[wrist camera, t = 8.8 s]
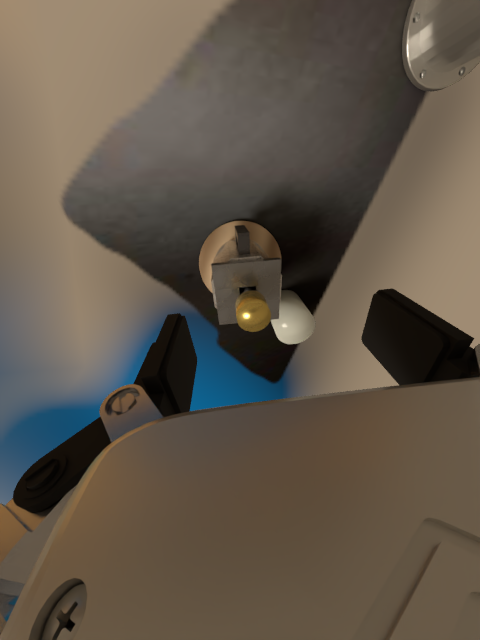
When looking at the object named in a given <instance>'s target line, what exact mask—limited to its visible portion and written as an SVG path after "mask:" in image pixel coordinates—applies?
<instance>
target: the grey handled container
mask: <svg viewBox="0 0 480 640" xmlns="http://www.w3.org/2000/svg"><path fill="white" fill-rule="evenodd" d="M234 227H235V239H232V240H230V241H228V242H226V243H225V244H224V245H222V246H221V247H220V249H219V250H218V252H217V254H216V256H215V258H214V259H213V263H211V268H212V278H211V284H212V291H213V297H214V304H215V308H217V310H218V317H219V324H220V325H222V324H232V323H238V322H237V316H236V307H235V303H236V300H237V298H238V297H239V295H241V294H242V293H244V290H243V289H239V288H240V287H250V290H251V291H257V292H260V293H261V294H262V295H263V296H264V297H265V300H266V302H267V305H268V307H269V310H270V312H271V319H270V320H273V319H279V308H280V301H281V282H282V275H281V258H280V257H278V258H269V256H268V255H267V254H266V253H265V252H264V250H263V249H262V248H261V246H260V245H259V244H257V243H256V242H254V241H252V240H251V239H250V236H249V231H248V230H247V228H246V227H245V225H237V226H234ZM251 286H252V287H251Z"/></svg>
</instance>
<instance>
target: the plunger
mask: <svg viewBox="0 0 480 640" xmlns="http://www.w3.org/2000/svg"><path fill="white" fill-rule="evenodd" d="M251 287H252V286H251ZM239 289H243V290H244V293H242V294H241V295H239V297H238V298H237V300H236V303H235V307H236V316H237V322H238V324H239V326H240V327H241V328H242V329H244V330H246V331H251V332H255V331H259V330H261V329H263V328H265V327H266V326H267V325H268V324H269V322H270V319H271V312H270V310H269V307H268V305H267V302H266V300H265V297H264V296H263V295H262V294H261V293H260V292H257V291H251V290H250V287H240V288H239Z"/></svg>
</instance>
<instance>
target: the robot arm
mask: <svg viewBox="0 0 480 640" xmlns="http://www.w3.org/2000/svg"><path fill="white" fill-rule="evenodd" d="M402 57H403V64H404V68H405V71H406V74H407V76H408V78H409V79H410V81H411V83H412V84H414V85H415V86H416V87H417V88H419V89H421V90H424V91H437V90H441V89H443V88H446V87H448V86H451V85H452V84H454V83H456V82H458V81H459V80H461V79H462V78H463V77H465V76H466V75H467V74H468V73H470V72H471V70H473V68H475V66H476V65H477V64H478V63H479V62H480V0H412V2H411V5H410V8H409V10H408V14H407V18H406V22H405V26H404V32H403V40H402ZM473 339H474V338H473V337H471V336H469V335H468V334H466V333H464V332H463V331H461V330H459V329H458V328H456V327H455V326H453V325H451V324H450V323H448V322H446V321H445V320H443V319H442V318H440V317H438V316H437V315H435V314H433V313H432V312H430V311H428V310H427V309H425V308H424V307H422V306H420V305H418V304H417V303H415V302H414V301H412V300H411V299H409V298H407V297H406V296H404V295H402V294H401V293H399V292H397V291H396V290H394V289H384V290H379V291H377V292H376V294H374V295H373V298H372V302H371V305H370V309H369V312H368V316H367V320H366V323H365V327H364V330H363V334H362V342H363V344H364V345H365V346H366V347H367V348H368V350H369V351H370V352H371V353H372V354H373V355H374V357H375V358H376V359H377V360H378V361H379V362H380V363H381V364H382V366H383V367H384V368H385V369H386V370H387V371H388V372H389V373H390V375H391V376H392V377H393V378H394V379H395V380H396V382H397V383H398V384H399V386H390V387H382V388H372V389H363V390H355V391H346V392H338V393H329V394H320V395H312V396H304V397H296V398H287V399H279V400H271V401H262V402H255V403H246V404H238V405H231V406H224V407H217V408H209V409H202V410H196V411H190V404H191V398H192V391H193V385H194V379H195V372H196V366H197V356H196V353H195V349H194V346H193V342H192V339H191V335H190V332H189V328H188V325H187V321H186V318H185V316H181V314H170V315H168V316H167V318H166V320H165V322H164V324H163V327H162V329H161V331H160V334H159V336H158V338H157V340H156V342H155V343H153V344H152V345H151V347H150V349H149V351H148V353H147V356H146V358H145V360H144V362H143V364H142V366H141V369H140V371H139V373H138V375H137V377H136V380H135V382H134V384H130V385H126V386H122V387H120V388H118V389H116V390H115V391H113V392H112V393H111V394H109V395H108V396H107V397H106V398H105V400H104V401H103V403H102V404H101V407H100V416H101V417H99V418H98V419H96V420H95V421H93V422H92V423H91V424H89V425H88V426H86V427H85V428H84V429H82V430H81V431H79V432H78V433H76V434H75V435H73V436H72V437H71V438H69V439H68V440H66V441H65V442H63V443H62V444H60V445H59V446H58V447H57V448H55V449H53V450H52V451H50V452H49V453H48V454H46V455H45V456H43V457H42V458H40V459H39V460H38V461H37V462H36V463H34V464H33V465H32V466H31V467H30V468H29V469H28V470H27V471H26V472H25V473H24V475H23V476H22V477H21V479H20V480H19V482H18V483H17V486H16V488H15V490H14V494H13V498H12V500H10V501H9V502H8V503H7V504H6V505H3V504H0V640H480V344H478V345H477V346H476V347H475V348H474V349H473V348H471V347H470V344H471V343H472V341H473ZM189 411H190V412H189Z"/></svg>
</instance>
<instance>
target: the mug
mask: <svg viewBox="0 0 480 640" xmlns="http://www.w3.org/2000/svg"><path fill="white" fill-rule="evenodd" d="M271 323H272V325H273V328H274V330H275V333H276V336H277V337H278V339H279V340H280V341H282V342H284V343H287V344H297V343H300V342H302V341H304V340H306V339H307V338H309V337H310V336H311V334H312V333H313V331H314V329H315V324H316V323H315V319H314V317H313V316H312V314H311V313H310V312H309V310H308V309H307V307H306V306H305V305H304V303H303V302H302V300H301V299H300V298H299V296H298V295H297V294H296V293H295V292H293V291H291V290H281V301H280V308H279V319H273V320H271Z"/></svg>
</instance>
